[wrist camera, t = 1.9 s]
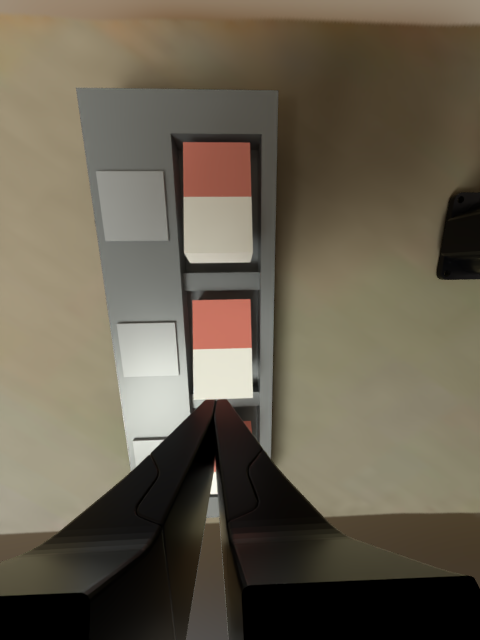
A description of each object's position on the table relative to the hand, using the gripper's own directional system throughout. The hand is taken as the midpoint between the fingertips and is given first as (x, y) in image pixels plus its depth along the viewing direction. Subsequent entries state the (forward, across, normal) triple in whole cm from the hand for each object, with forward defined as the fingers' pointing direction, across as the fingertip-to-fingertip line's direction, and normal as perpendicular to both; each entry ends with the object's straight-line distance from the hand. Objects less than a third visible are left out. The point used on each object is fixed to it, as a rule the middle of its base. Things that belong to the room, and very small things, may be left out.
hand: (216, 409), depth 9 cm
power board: (+11, +2, 0) cm, 11 cm away
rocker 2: (+7, 0, 0) cm, 7 cm away
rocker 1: (+7, 0, -9) cm, 12 cm away
